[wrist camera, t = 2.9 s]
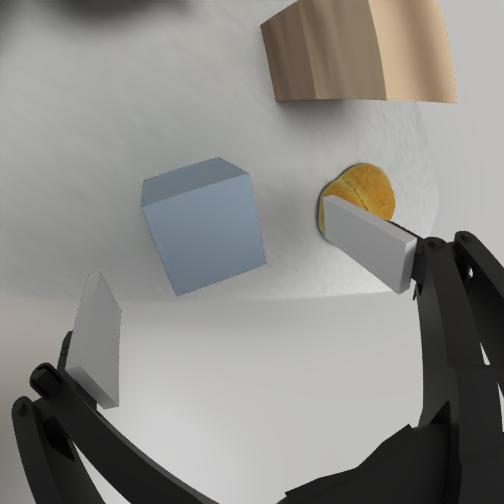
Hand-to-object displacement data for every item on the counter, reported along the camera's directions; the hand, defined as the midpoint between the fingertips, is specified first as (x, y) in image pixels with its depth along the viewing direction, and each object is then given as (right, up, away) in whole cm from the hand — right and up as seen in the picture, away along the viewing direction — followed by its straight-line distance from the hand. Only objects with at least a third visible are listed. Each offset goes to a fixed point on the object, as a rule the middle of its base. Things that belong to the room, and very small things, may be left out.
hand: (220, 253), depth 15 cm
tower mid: (+8, +13, -1) cm, 16 cm away
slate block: (-3, +4, +7) cm, 8 cm away
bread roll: (+12, +5, +12) cm, 18 cm away
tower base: (+6, +16, +4) cm, 18 cm away
